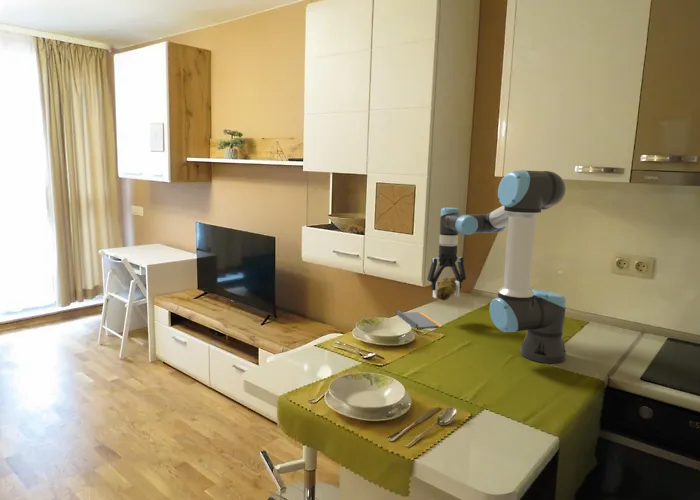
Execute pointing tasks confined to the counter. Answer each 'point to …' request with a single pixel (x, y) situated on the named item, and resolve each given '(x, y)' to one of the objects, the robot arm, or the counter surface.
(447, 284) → the potato
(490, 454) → the counter surface
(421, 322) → the mat
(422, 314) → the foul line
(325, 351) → the counter surface
